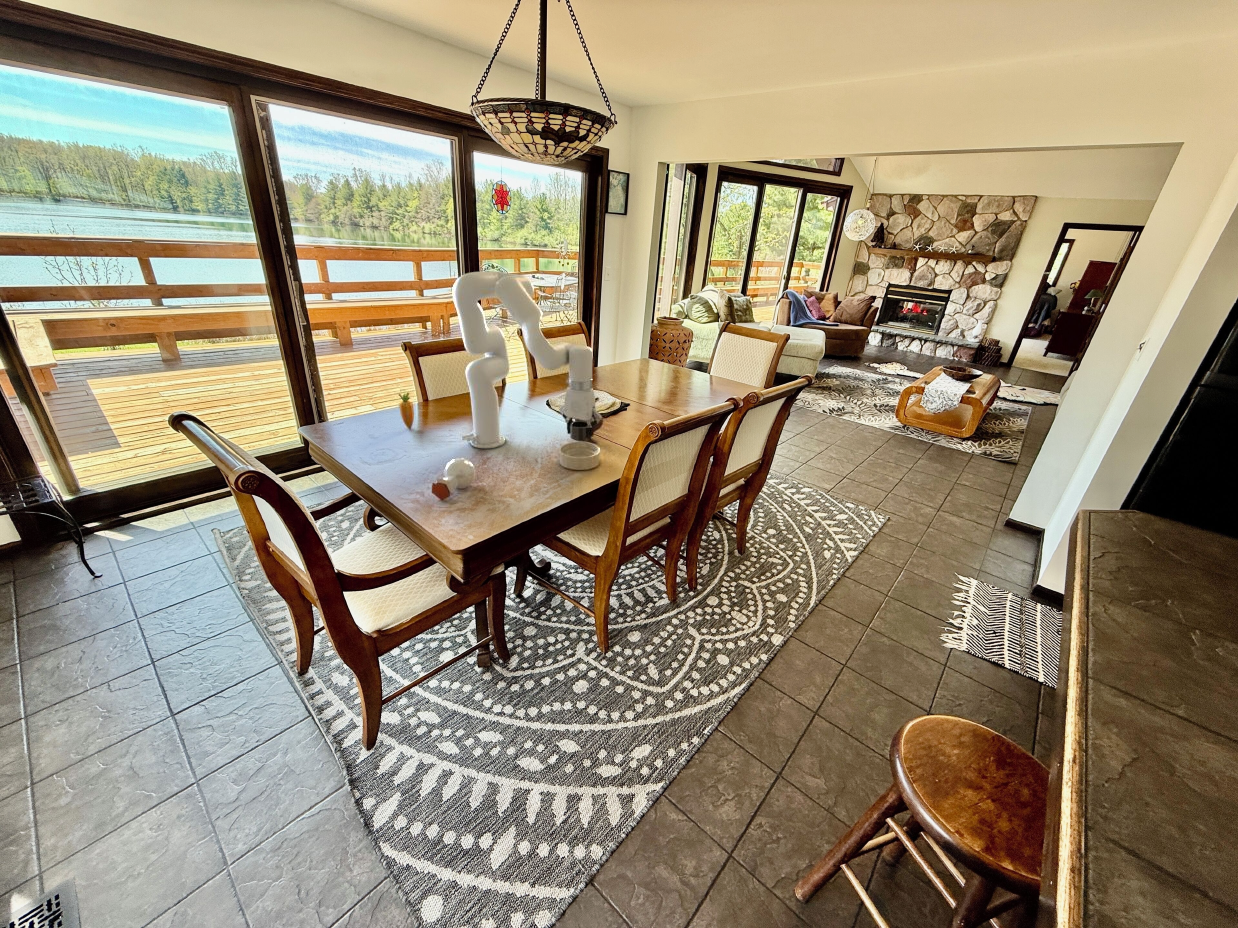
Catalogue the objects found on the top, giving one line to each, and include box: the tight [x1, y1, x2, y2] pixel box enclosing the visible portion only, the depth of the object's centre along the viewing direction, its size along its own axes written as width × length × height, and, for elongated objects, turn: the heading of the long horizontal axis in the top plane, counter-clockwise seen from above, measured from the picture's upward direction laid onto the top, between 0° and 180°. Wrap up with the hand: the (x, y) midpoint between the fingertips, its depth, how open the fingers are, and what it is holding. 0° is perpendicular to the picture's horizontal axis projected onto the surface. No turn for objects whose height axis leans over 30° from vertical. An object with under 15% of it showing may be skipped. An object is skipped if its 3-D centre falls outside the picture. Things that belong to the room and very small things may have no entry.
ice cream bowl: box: [574, 410, 604, 445], centre depth 183 cm, size 11×11×15 cm
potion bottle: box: [431, 457, 477, 501], centre depth 145 cm, size 9×10×15 cm
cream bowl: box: [558, 441, 601, 471], centre depth 168 cm, size 14×14×5 cm
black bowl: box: [569, 420, 588, 442], centre depth 164 cm, size 7×7×5 cm
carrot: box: [397, 391, 415, 430], centre depth 186 cm, size 5×5×15 cm
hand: (580, 434), depth 165 cm, fingers closed on black bowl, 7 cm apart
